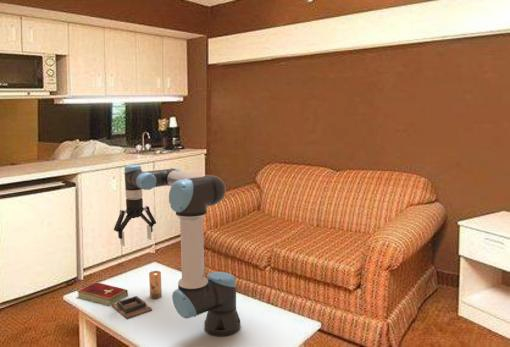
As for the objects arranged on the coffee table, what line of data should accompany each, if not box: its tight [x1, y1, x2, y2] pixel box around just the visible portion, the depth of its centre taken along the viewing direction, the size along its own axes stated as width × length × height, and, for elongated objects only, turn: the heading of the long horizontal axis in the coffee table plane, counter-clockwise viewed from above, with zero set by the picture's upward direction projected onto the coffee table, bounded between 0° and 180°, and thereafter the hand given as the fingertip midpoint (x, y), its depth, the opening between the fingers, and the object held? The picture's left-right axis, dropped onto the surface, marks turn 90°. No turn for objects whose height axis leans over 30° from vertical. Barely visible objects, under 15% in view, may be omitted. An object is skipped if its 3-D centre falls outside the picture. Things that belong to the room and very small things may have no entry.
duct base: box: [111, 295, 153, 320], centre depth 195 cm, size 16×12×3 cm
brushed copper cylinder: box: [148, 270, 163, 300], centre depth 206 cm, size 6×6×12 cm
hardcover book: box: [76, 281, 129, 307], centre depth 207 cm, size 12×21×4 cm, turn 64°
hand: (136, 242), depth 202 cm, fingers open, 13 cm apart
